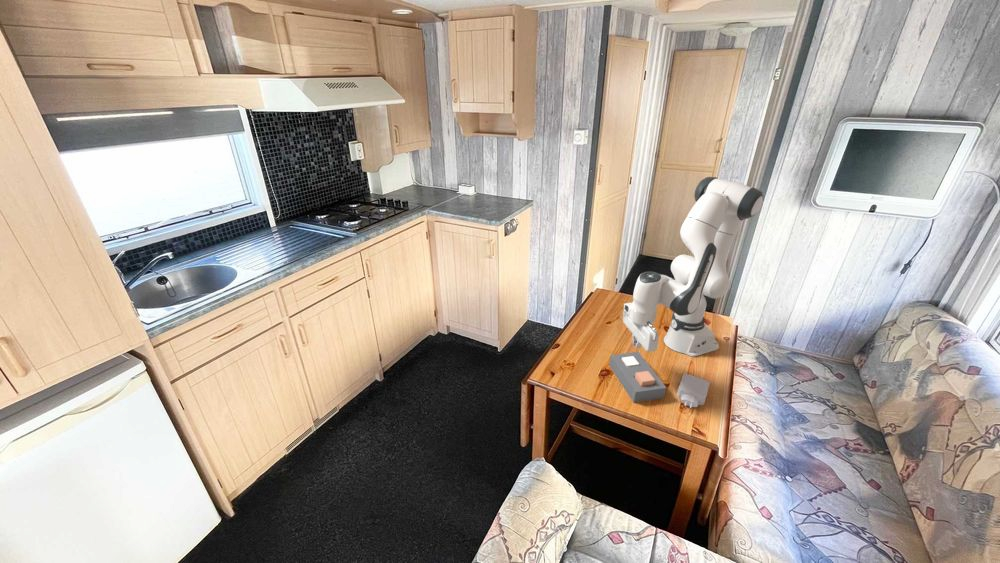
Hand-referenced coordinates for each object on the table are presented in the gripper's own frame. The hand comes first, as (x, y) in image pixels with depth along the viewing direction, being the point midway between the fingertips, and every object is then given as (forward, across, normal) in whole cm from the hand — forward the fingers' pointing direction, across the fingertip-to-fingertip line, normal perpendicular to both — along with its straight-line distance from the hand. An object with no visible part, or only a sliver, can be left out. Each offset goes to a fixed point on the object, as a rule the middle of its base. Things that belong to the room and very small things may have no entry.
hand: (636, 346), depth 151 cm
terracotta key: (+10, -9, 0) cm, 13 cm away
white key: (+12, +2, 0) cm, 12 cm away
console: (+14, -3, 0) cm, 15 cm away
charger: (+15, -15, -16) cm, 27 cm away
